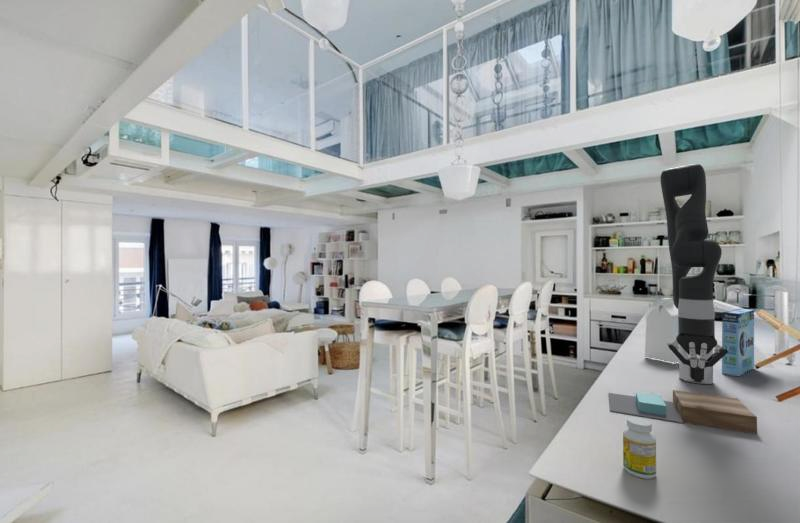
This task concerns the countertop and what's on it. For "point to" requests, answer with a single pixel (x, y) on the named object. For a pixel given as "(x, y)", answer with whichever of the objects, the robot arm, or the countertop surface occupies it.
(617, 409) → the mat
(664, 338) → the milk
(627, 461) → the supplement bottle
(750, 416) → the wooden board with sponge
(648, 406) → the teal foam pad
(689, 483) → the countertop surface
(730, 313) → the gum box
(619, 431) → the countertop surface
